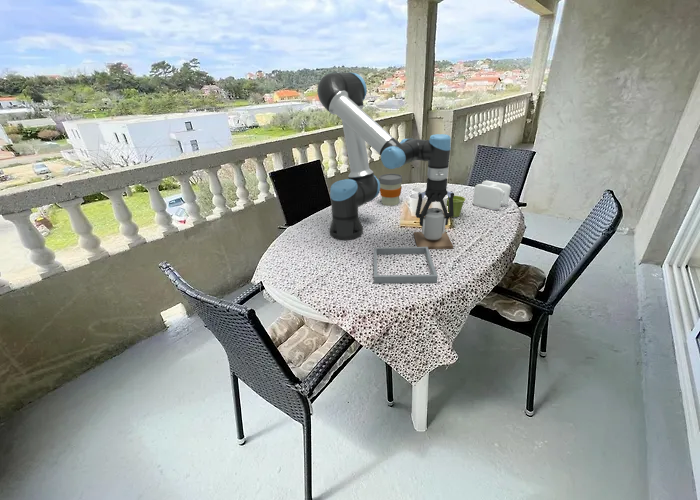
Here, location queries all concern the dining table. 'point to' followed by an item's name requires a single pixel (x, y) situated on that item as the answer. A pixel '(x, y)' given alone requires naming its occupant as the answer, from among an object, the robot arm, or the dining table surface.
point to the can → (433, 223)
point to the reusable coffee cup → (390, 188)
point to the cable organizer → (491, 194)
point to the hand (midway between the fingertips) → (432, 232)
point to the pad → (433, 241)
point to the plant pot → (456, 205)
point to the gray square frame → (405, 278)
